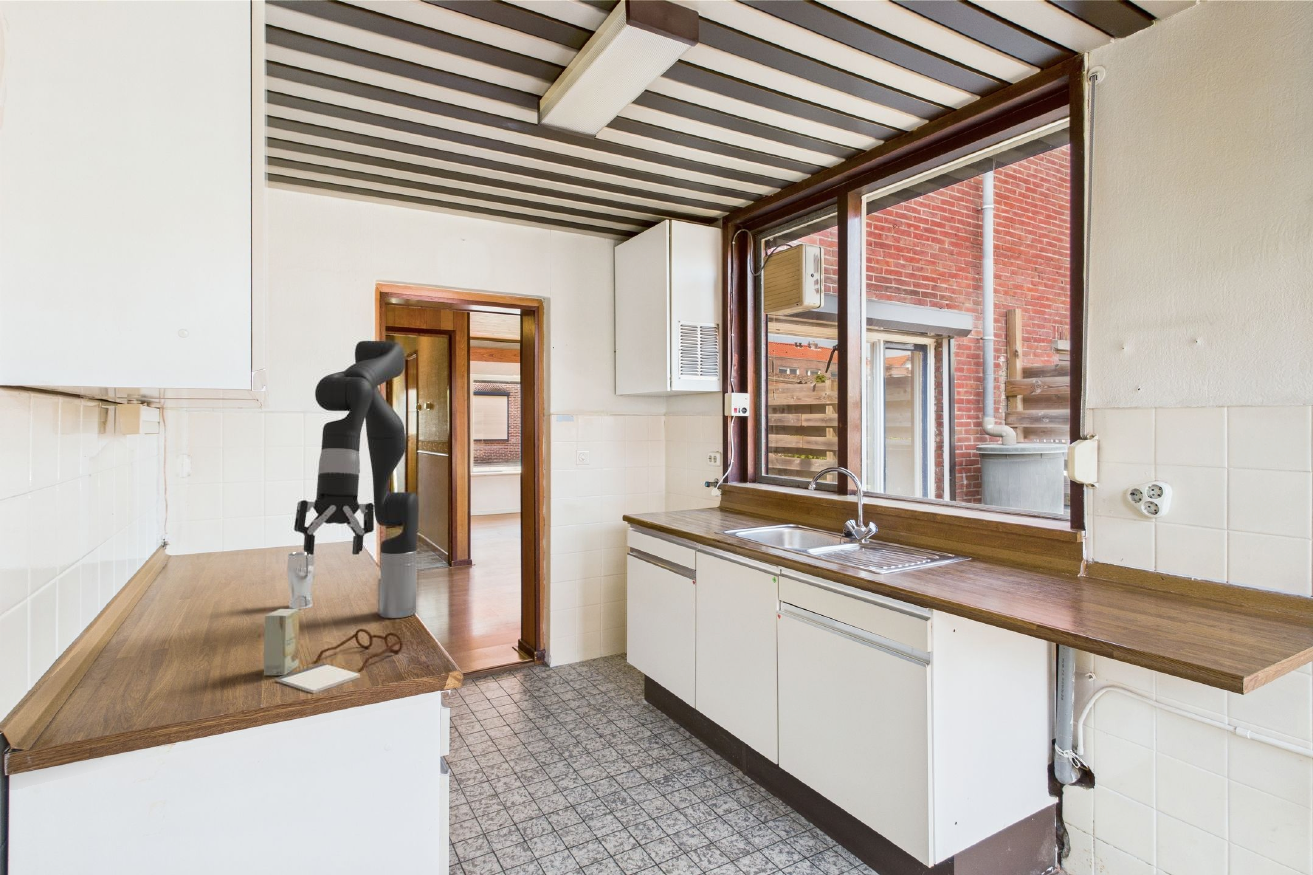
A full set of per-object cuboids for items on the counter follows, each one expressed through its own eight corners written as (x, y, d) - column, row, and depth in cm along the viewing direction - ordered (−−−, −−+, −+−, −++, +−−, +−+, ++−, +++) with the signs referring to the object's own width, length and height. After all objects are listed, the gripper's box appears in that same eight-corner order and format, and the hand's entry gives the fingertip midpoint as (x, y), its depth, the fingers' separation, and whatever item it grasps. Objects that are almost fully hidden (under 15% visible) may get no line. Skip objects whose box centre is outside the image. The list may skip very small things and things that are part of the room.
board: (276, 681, 134) (276, 677, 134) (323, 666, 143) (323, 663, 143) (313, 693, 128) (313, 689, 128) (360, 677, 137) (360, 673, 137)
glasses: (403, 654, 152) (404, 632, 152) (360, 673, 140) (360, 649, 140) (357, 648, 157) (357, 626, 157) (311, 666, 144) (311, 642, 144)
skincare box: (285, 676, 137) (285, 615, 137) (262, 676, 137) (263, 616, 137) (299, 665, 144) (300, 607, 143) (278, 665, 143) (278, 607, 143)
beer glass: (306, 609, 188) (306, 556, 188) (281, 609, 188) (282, 555, 188) (319, 603, 195) (319, 551, 195) (295, 603, 195) (295, 551, 195)
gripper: (368, 477, 144) (363, 554, 141) (295, 472, 135) (288, 555, 132) (381, 473, 138) (376, 554, 136) (305, 468, 129) (299, 554, 126)
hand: (333, 554), depth 134 cm, fingers open, 8 cm apart
